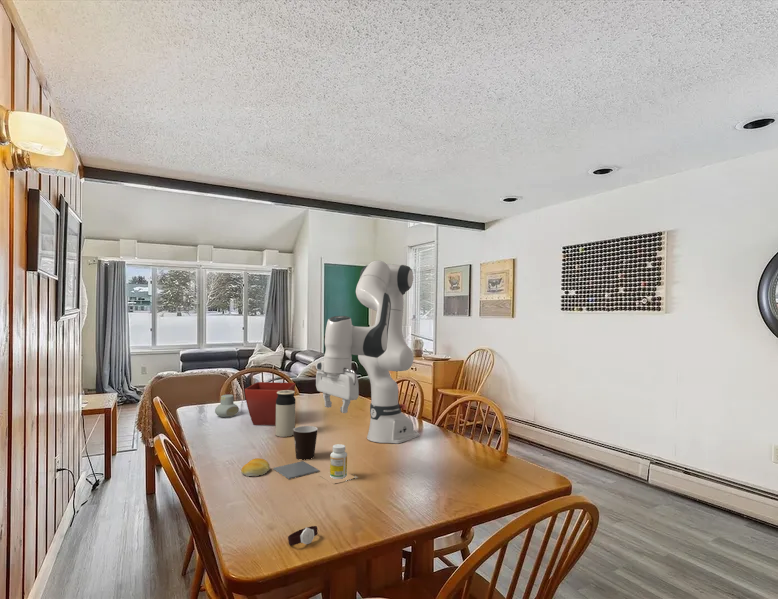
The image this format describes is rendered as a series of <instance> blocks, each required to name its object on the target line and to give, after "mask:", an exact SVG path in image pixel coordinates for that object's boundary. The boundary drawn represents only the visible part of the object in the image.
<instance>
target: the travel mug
mask: <svg viewBox="0 0 778 599" xmlns="http://www.w3.org/2000/svg"><path fill="white" fill-rule="evenodd" d="M295 392H296V391H295V390H294V391H292V390H282V391H278V392H277V394H278V397H277V399H276V425H275V436H277V437H278V436H280V438H287V436H290V437H293V436H294V432H293V429H294V428H296V397H295ZM292 435H293V436H292Z"/></svg>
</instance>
